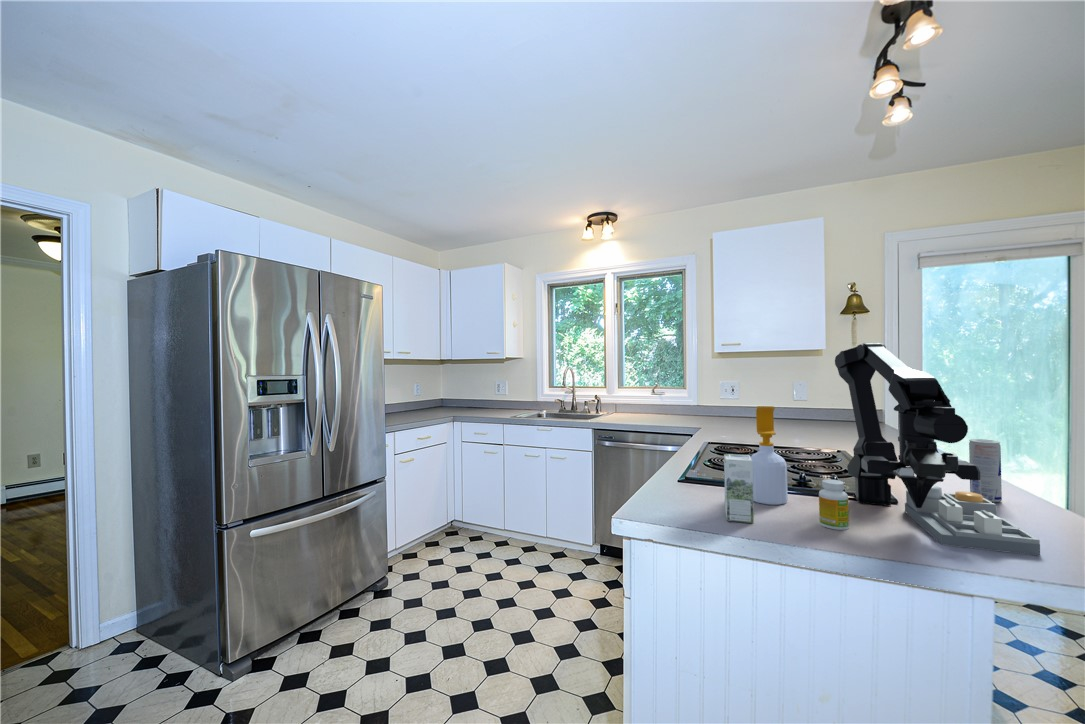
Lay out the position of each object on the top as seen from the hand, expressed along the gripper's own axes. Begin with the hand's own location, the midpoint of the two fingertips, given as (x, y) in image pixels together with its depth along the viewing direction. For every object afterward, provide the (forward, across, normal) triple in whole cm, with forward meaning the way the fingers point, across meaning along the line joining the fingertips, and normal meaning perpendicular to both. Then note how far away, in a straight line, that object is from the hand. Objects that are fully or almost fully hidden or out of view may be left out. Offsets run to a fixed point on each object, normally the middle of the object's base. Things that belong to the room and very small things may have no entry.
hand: (918, 507), depth 95 cm
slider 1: (+2, +5, 0) cm, 6 cm away
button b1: (0, +4, +8) cm, 9 cm away
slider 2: (+2, +9, -6) cm, 11 cm away
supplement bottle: (+4, -16, -4) cm, 17 cm away
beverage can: (+4, +22, +28) cm, 35 cm away
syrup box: (+4, -35, -6) cm, 36 cm away
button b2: (+2, +11, +8) cm, 14 cm away
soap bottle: (+5, -28, +10) cm, 30 cm away
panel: (+4, +8, +1) cm, 9 cm away
